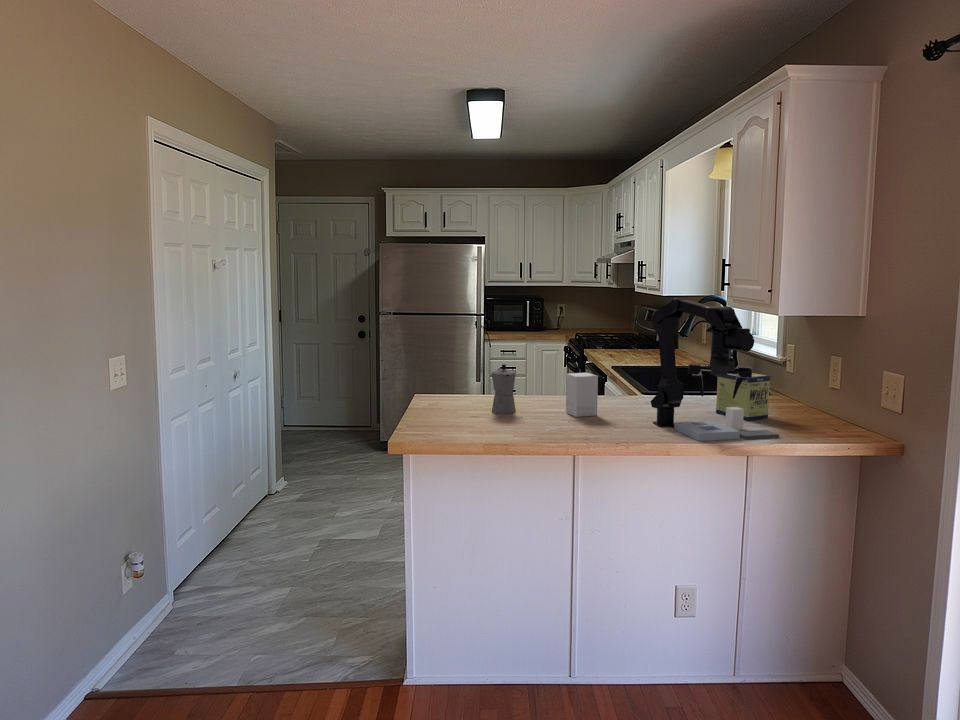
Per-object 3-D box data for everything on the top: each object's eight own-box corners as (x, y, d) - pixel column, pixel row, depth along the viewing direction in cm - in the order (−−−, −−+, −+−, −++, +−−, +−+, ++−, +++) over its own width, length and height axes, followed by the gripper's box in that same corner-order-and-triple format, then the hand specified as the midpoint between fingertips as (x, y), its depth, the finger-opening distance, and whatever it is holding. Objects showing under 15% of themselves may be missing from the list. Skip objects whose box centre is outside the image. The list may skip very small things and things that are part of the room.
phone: (733, 434, 223) (733, 431, 223) (766, 432, 225) (766, 429, 225) (744, 439, 217) (744, 436, 216) (778, 437, 219) (779, 434, 219)
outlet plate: (674, 429, 230) (674, 422, 230) (712, 427, 233) (713, 420, 233) (698, 441, 215) (699, 433, 215) (739, 438, 218) (739, 430, 217)
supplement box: (598, 415, 252) (598, 375, 251) (575, 417, 250) (576, 376, 248) (586, 411, 261) (587, 372, 259) (565, 412, 258) (565, 373, 256)
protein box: (747, 421, 242) (749, 377, 240) (715, 413, 256) (716, 371, 254) (769, 418, 247) (771, 375, 245) (736, 410, 261) (737, 370, 259)
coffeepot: (520, 414, 255) (520, 366, 253) (495, 415, 253) (495, 367, 251) (510, 406, 270) (510, 361, 268) (486, 407, 268) (486, 361, 266)
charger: (725, 427, 233) (726, 407, 232) (736, 427, 234) (737, 406, 233) (731, 430, 229) (732, 409, 228) (742, 429, 230) (743, 409, 229)
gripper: (687, 349, 209) (685, 400, 211) (754, 352, 202) (750, 404, 205) (689, 345, 219) (687, 393, 221) (752, 348, 213) (749, 397, 215)
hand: (717, 397), depth 215 cm, fingers open, 9 cm apart
